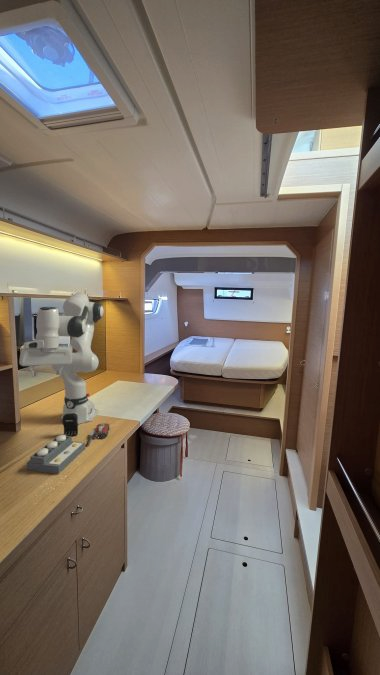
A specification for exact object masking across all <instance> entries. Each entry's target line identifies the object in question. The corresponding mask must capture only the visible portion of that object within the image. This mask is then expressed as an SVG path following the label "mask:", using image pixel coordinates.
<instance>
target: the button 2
mask: <svg viewBox="0 0 380 675" xmlns="http://www.w3.org/2000/svg"><path fill="white" fill-rule="evenodd" d="M55 438H56V441H57V442H61V443H62V442H64V441H65V440H66V435H64V434H59V435H57V436H56V437H55Z"/></svg>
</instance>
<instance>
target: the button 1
mask: <svg viewBox="0 0 380 675" xmlns="http://www.w3.org/2000/svg"><path fill="white" fill-rule="evenodd" d="M36 452H37V457H45V456H46V455H47V454H48V449H47V448H43V447H42V449H41V448H39V449H38V450H37V451H36Z"/></svg>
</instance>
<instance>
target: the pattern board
mask: <svg viewBox="0 0 380 675" xmlns="http://www.w3.org/2000/svg"><path fill="white" fill-rule="evenodd" d="M72 437H73V436H66V440H65V441H64V442H62V443H61V442H57V443H58V446H57V447H56V448H55V449H54V450H52V449H48V454H47V455H46V456H45V457H37V451H35V452H34V453H33V454H32V455H30V457H29V459H30V460H28V461H26V471H34V472H42V473H48V474H49V473H50V474H57V475H59V474H61V473H62V472H63V471H64V470H65V469H66V468H67V467H68V466H69V465H70V464H71V463H72V462H73V461H75V459H77V457H78V456H79V455H80V454H82V453H83V452H84V451H85V450H86V442H82V441H81V442H80V441H73V440H72V439H73V438H72ZM51 441H56V437H55V438H54V439H52V440H51ZM42 448H47V444H46V445H44V446H43V447H42ZM42 448H40V449H42Z"/></svg>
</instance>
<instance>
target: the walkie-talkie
mask: <svg viewBox="0 0 380 675" xmlns="http://www.w3.org/2000/svg"><path fill="white" fill-rule="evenodd" d="M108 431H110V424H109V423H107V422H106V423H98V424H97V425H96V426H95V429H93V430H91V431H90V432H89V434H88V441H87V443H86V445H87V446H90V444H91V441H92V440H96V439H95V438H98V437H99V438H100V439H101V438H103V439H105V438H104V437H107V438H108V434H109V432H108ZM92 438H93V439H92Z"/></svg>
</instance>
